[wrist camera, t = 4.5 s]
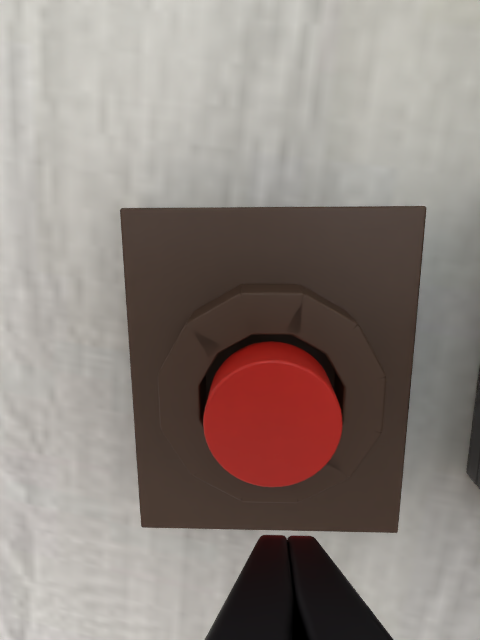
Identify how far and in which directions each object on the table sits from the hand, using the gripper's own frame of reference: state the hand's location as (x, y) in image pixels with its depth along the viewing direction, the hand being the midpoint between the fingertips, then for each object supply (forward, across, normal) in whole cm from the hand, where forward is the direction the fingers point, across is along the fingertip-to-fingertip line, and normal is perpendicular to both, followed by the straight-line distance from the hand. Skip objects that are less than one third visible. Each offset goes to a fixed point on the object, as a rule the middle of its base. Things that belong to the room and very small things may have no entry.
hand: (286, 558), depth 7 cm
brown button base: (+9, 0, 0) cm, 9 cm away
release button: (+6, 0, 0) cm, 6 cm away
